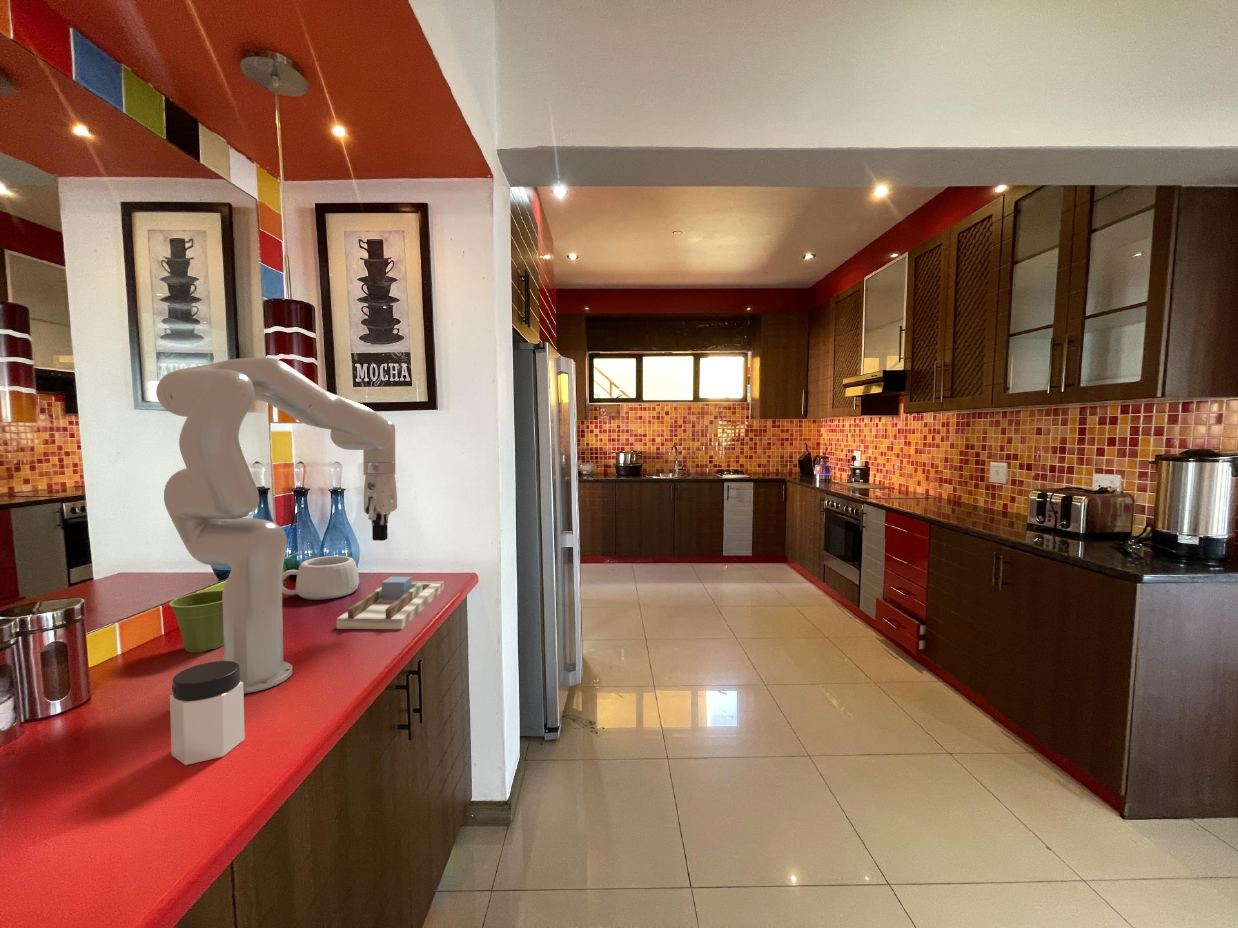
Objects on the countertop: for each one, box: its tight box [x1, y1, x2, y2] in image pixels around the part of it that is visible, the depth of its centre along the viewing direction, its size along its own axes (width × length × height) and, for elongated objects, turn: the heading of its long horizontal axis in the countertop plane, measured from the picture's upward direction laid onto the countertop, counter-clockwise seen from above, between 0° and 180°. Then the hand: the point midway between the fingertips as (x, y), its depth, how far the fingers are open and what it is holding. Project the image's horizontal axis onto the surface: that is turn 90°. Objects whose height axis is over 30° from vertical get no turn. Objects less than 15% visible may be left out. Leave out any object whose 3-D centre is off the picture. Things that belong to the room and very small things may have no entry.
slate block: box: [381, 576, 413, 600], centre depth 150 cm, size 6×6×5 cm
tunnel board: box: [336, 580, 445, 630], centre depth 149 cm, size 34×16×5 cm, turn 1°
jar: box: [169, 660, 246, 766], centre depth 82 cm, size 9×8×12 cm
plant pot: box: [168, 589, 224, 654], centre depth 119 cm, size 12×12×11 cm
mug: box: [282, 555, 360, 601], centre depth 159 cm, size 21×17×10 cm
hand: (380, 539), depth 138 cm, fingers closed
